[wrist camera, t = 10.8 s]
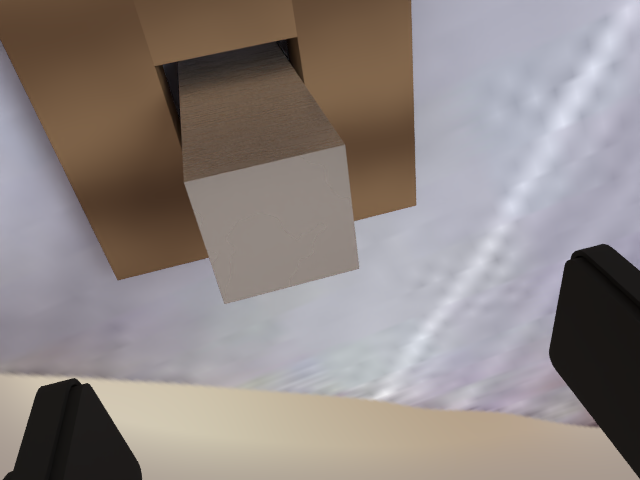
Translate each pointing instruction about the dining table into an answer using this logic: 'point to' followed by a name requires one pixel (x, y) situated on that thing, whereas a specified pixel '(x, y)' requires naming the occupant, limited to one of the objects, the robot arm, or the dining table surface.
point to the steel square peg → (263, 173)
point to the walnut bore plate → (161, 114)
